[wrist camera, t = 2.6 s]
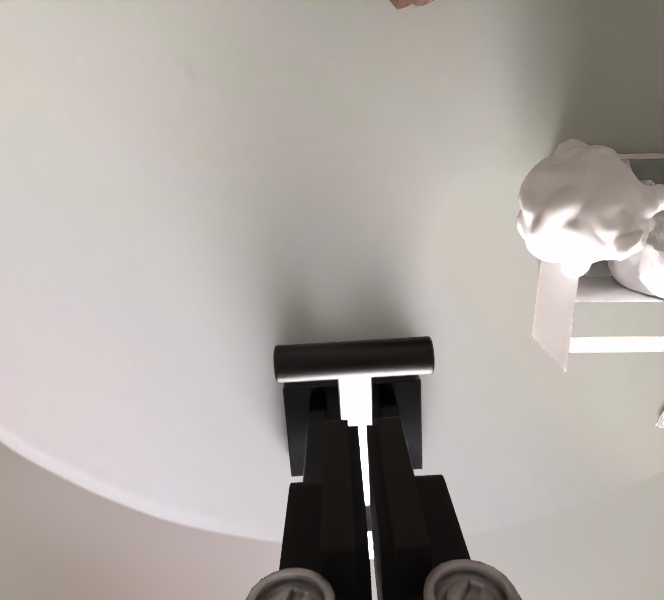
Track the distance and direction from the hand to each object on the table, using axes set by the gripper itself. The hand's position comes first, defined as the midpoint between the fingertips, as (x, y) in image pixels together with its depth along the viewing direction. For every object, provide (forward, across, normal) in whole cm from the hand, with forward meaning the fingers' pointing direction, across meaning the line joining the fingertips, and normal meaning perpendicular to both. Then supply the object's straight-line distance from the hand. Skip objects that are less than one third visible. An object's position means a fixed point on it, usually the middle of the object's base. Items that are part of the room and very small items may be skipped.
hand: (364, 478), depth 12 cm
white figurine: (+20, -15, -1) cm, 24 cm away
